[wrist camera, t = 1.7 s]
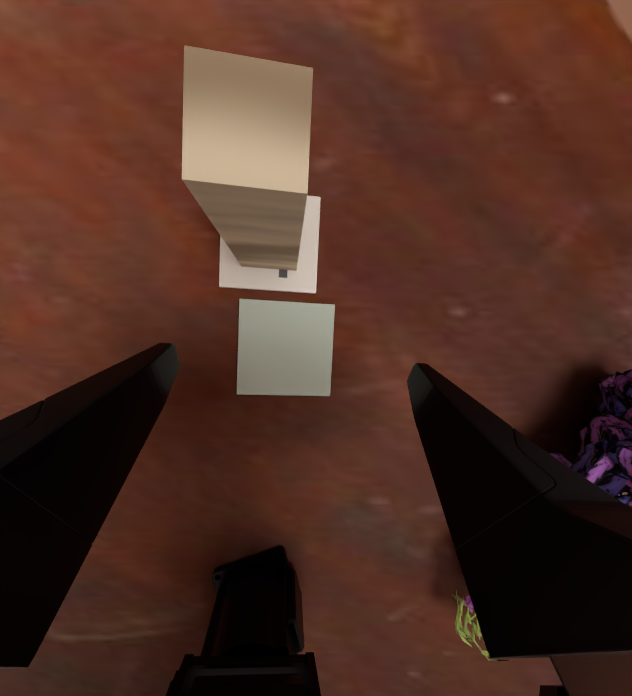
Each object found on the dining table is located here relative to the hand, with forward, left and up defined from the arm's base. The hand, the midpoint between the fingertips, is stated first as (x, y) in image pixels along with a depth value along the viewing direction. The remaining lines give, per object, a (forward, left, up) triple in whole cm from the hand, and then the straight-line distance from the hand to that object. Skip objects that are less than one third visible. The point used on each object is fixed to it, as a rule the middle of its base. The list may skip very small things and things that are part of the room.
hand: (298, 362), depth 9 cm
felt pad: (-1, 0, -12) cm, 12 cm away
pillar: (0, +9, -12) cm, 15 cm away
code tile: (0, +9, -12) cm, 15 cm away
